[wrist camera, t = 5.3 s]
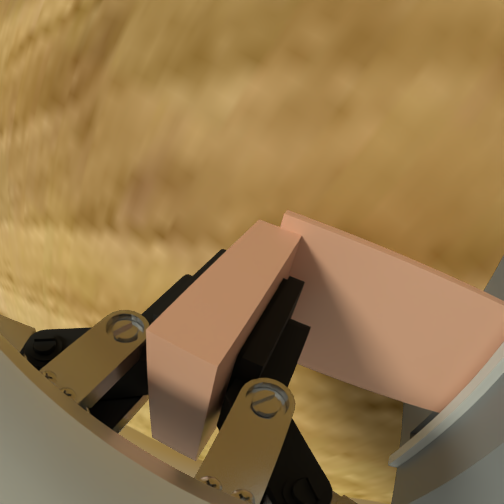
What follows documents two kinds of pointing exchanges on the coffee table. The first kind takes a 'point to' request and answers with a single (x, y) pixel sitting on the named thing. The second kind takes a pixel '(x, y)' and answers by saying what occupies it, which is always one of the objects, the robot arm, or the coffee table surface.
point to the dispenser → (457, 439)
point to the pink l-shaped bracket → (318, 325)
